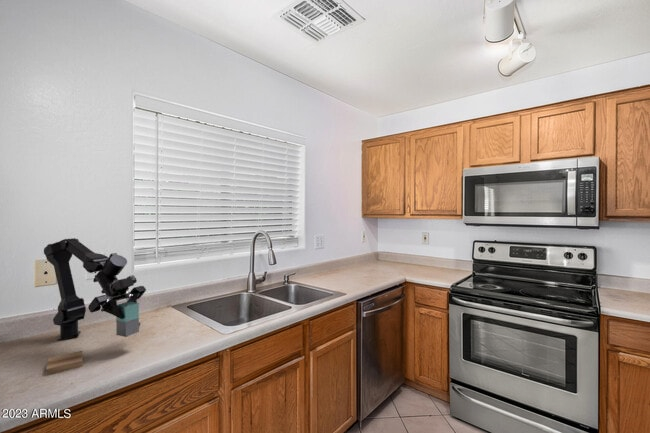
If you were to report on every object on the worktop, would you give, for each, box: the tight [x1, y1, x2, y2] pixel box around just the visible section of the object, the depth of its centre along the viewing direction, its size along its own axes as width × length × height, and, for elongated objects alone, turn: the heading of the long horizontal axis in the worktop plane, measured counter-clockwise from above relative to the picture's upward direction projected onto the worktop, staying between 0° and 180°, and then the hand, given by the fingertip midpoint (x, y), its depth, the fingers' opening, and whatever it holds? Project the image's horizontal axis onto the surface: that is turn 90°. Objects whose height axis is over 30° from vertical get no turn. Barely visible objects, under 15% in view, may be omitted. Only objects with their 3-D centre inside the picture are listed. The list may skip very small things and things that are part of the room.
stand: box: [45, 350, 84, 376], centre depth 103 cm, size 9×9×2 cm
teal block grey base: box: [115, 301, 140, 338], centre depth 113 cm, size 5×5×11 cm
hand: (130, 316), depth 113 cm, fingers closed on teal block grey base, 5 cm apart
